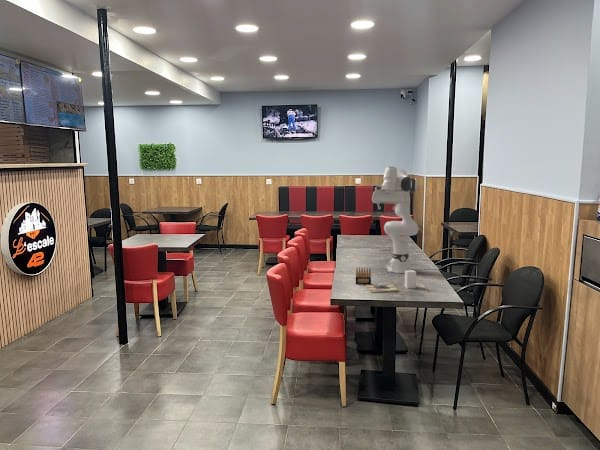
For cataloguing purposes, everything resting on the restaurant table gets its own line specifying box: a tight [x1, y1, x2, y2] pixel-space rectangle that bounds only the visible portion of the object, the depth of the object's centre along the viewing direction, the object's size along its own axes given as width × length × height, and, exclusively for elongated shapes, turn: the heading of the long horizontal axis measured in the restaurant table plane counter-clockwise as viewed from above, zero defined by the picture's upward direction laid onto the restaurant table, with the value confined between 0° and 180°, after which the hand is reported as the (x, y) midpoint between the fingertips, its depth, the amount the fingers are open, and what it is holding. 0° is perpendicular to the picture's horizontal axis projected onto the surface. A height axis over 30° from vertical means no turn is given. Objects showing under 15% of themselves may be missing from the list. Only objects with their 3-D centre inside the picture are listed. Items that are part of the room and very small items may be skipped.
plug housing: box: [404, 269, 417, 289], centre depth 299 cm, size 5×6×11 cm
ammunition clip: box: [355, 266, 372, 285], centre depth 309 cm, size 11×2×12 cm, turn 80°
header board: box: [364, 283, 399, 294], centre depth 297 cm, size 16×18×1 cm
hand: (386, 209), depth 286 cm, fingers open, 8 cm apart
